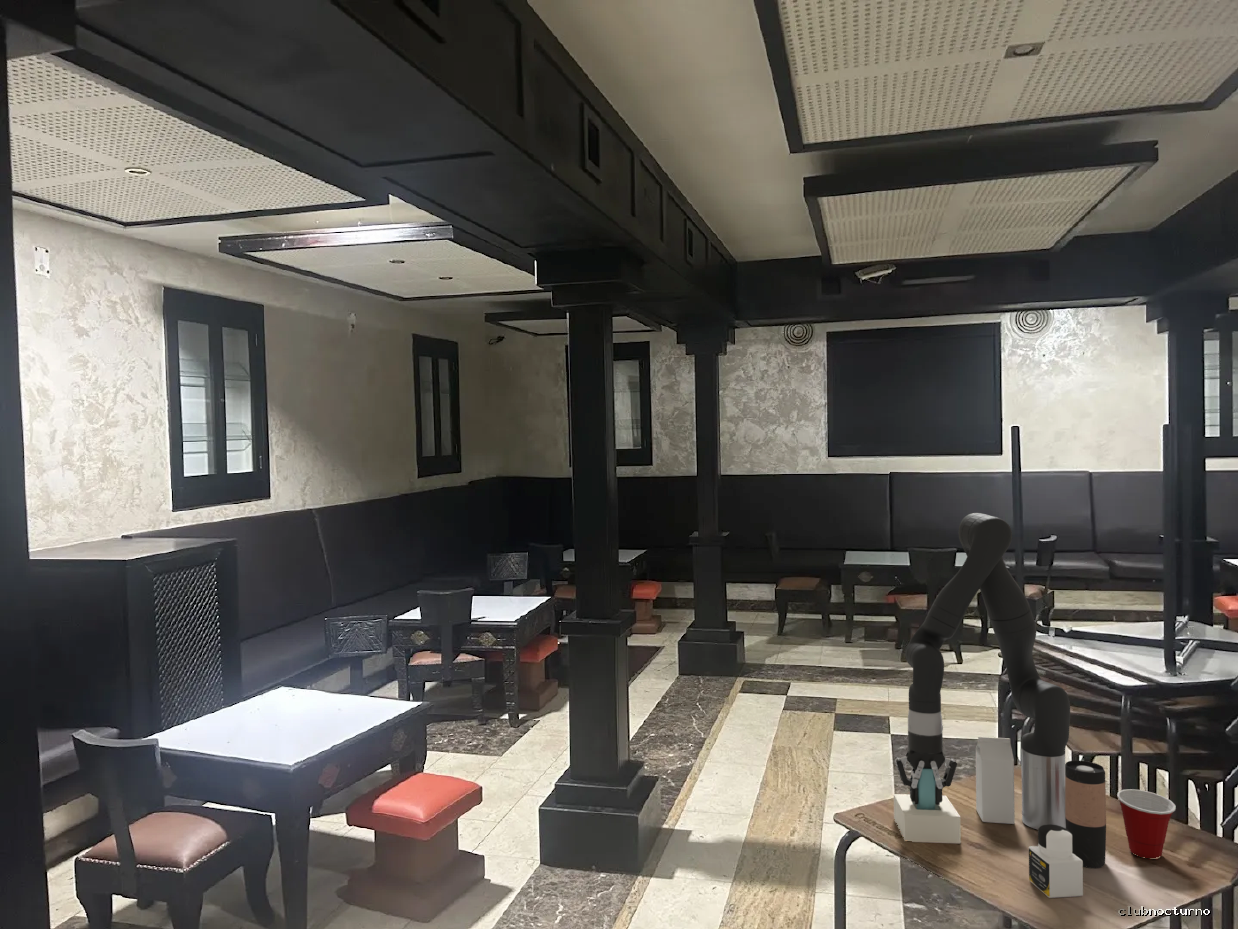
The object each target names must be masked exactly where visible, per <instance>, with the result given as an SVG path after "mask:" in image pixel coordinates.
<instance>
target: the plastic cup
mask: <svg viewBox="0 0 1238 929" xmlns="http://www.w3.org/2000/svg"><path fill="white" fill-rule="evenodd" d="M1116 795H1117V796H1116V797H1117V799H1118V801H1119V805H1120V808H1121V812H1122V817H1123V823H1124V828H1125V835H1126V837H1127V843H1128V848H1129V852H1130V853H1131V852H1132V853H1134V854H1136V855H1138V856H1140V857H1145V858H1156V857H1159V856H1161V857H1162V856H1163V850H1164V845H1165V842H1166V836H1167V833H1168V827H1169V823H1170V820H1171V817H1172V814H1173V813H1174V812H1175V811H1176V809H1177V808H1176V804H1175V803H1174V802H1173V801H1172V800H1170V799H1169V798H1167V797H1165V796H1163V795H1160V794H1158V793H1154V792H1151V791H1147V790H1144V789H1143V790H1142V789H1134V788H1132V789H1131V788H1130V789H1121V790H1120V791H1118V792H1117V794H1116ZM1132 853H1131V854H1132ZM1134 854H1133V855H1134ZM1138 856H1137V857H1138ZM1140 857H1139V858H1140Z"/></svg>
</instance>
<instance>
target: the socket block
mask: <svg viewBox="0 0 1238 929" xmlns="http://www.w3.org/2000/svg"><path fill="white" fill-rule="evenodd" d="M894 819H895V820H894ZM893 820H894V823H895V824H896V823H897V824H896V826H897V825H898V826H897V828H898V830H899V829H900V830H899V832H900V831H901V832H900V835H901V836H902V835H903V836H902V838H903V837H904V838H903V841H905V840H908V841H912V842H911V843H938V844H961V839H962V837H961V815H960V814H959V813H958V811H957V809H956V807H955V806H954V805H953V804H952V802H951V801H950V800H949V798H948V797H947V795H943V794H942V802H940V805H936V804H935V810H917V804H914V803H913V802H912V800H911V798H910V793H908V794H904V793H903V794H902V793H893Z"/></svg>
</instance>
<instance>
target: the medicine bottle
mask: <svg viewBox="0 0 1238 929" xmlns="http://www.w3.org/2000/svg"><path fill="white" fill-rule="evenodd" d="M1037 834H1038V835H1037V841H1038V842H1037V843H1038V844H1037V845H1032V846H1031V845H1030V846H1028V880H1029V882H1030V883H1031V884H1032V885H1033V886H1035V888H1037V889H1038V890H1039V891H1041V892H1042V893H1043V894H1044V895H1045V896H1046V897H1047V898H1049V899H1054V898H1055V899H1057V898H1072V897H1075V898H1076V897H1083V896H1084V875H1083V873H1084V870H1083V868H1084V867H1083V861H1082V860H1081V859H1080V858H1078V857H1077V856H1076V855H1074V854H1073V853H1072V834H1071V832H1070V831H1069V830H1067V829H1066V828H1064V827H1061V826H1058V825H1052V824H1048V825H1042V826H1040V827H1039V828H1038V830H1037Z"/></svg>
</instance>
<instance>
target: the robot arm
mask: <svg viewBox="0 0 1238 929" xmlns="http://www.w3.org/2000/svg"><path fill="white" fill-rule="evenodd" d="M958 538H959V542H960V544H961V546H962V549H963V551H964V553H965V555H966V559H965V560H964V563H962V566H961V567H960V568H959V570H958V572H956V574H955V575H953V577H952V578H951V579H950V580H949V581H948V582H947V583H946V584H945V585H944V587H943V588H941V590H940V591H939V592H938V594H937V596H936V597H935V599H934V601H933V602H932V605H931V607H930V609H929V611H928V612H927V615H926V617H925V619H924V622H923V623H922V624H921V625H920V626H919V627H918V629H917V630H916V631H915V632H914V634H913V636H912V637H911V639H910V640H909V642H908V644H907V646H906V649H905V653H904V654H905V656H904V657H905V660H906V662H907V664H908V665H909V666H910V667H911V668H912V683H911V684H910V685H909V688H908V714H907V743H908V744H907V753H906V754H905V756H902V757H899V756H895V757H894V762H895V765H896V768H897V771H898V775H899V777H900V779H901V780H900V781H901V782H902V784H903V785H904V786H908V787H909V794H910V798H911V800H912V802H913V803H914V804H918V789H917V784H918V780H919V779H920V776H921V773H922V769H932V770H933V774H934V778H935V804H936V805H940V802H942V795H943V789H944V788H945V787H948V788H949V787H951V784H952V783H953V779H954V776H955V772H956V770H957V766H958V763H957V762H956V760H955V759H954V758H953V757H950V758H948V757H945V755H944V753H943V752H944V749H943V748H944V747H943V746H944V744H943V743H944V742H943V741H944V740H943V731H944V725H943V716H942V695H941V690H942V687H943V680H944V674H945V660H944V655H943V653H942V652H941V648H942V646H943V645H944V643H945V642H946V640H949V639H952V638H953V636H954V635H955V634H956V632H957V630H958V629H959V626H960V624H961V622H962V620H963V618H964V616H965V614H966V612H967V610H968V609H969V606H970V605H971V603H972V601H973V599H974V598H975V596H976V595H977V593H978V591H979V590H980V594H981V597H982V599H983V603H984V606H985V609H986V611H987V612H986V613H987V617H988V618H989V621H990V625H991V628H992V630H993V633H994V636H995V638H996V641H997V644H998V647H999V650H1000V654H1001V657H1002V659H1003V663H1004V666H1005V670H1006V675H1007V679H1008V683H1009V688H1010V692H1011V697H1012V700H1013V703H1014V705H1015V708H1016V709H1017V710H1018V711H1019V712H1020V713H1021V714H1022V715H1023V716H1024V717H1025V716H1026V717H1027V718H1030V719H1032V720H1034V727H1033V728H1034V729H1033V732H1027V733H1025V734H1023V735H1022V736H1021V740H1020V741H1021V743H1020V748H1021V751H1020V753H1021V755H1020V756H1021V820H1022V823H1023V824H1024V825H1025V826H1027V827H1029V828H1032V829H1034V830H1037V831H1038V828H1039V827H1040V826H1042V825H1048V824H1052V825H1058V826H1061V827H1064V828H1066V822H1065V764H1066V746H1067V744H1068V742H1069V739H1070V725H1071V724H1070V722H1071V703H1070V702H1071V701H1070V698H1069V695H1068V693H1067V691H1066V690H1065V688H1063V687H1061V686H1059V685H1057V684H1054V683H1051V682H1048V681H1044V680H1043V679H1042V678H1041V677H1040V674H1039V672H1038V670H1037V667H1036V665H1035V661H1034V656H1033V651H1034V646H1035V643H1036V642H1035V641H1036V638H1037V624H1036V620H1035V618H1034V614H1033V612H1032V609H1031V606H1030V603H1029V601H1028V599H1027V596H1025V593H1024V592H1023V590H1022V589H1021V587H1020V586H1019V584H1018V583H1017V581H1016V580H1015V578H1014V577H1013V575H1012V574H1011V572H1010V571H1009V570H1008V568H1007V566H1006V563H1005V561H1004V559H1003V556H1004V554H1005V553H1006V552H1007V550H1008V549H1009V547H1010V545H1011V543H1012V539H1013V532H1012V529H1011V526H1010V525H1009V523H1008V522H1007V521H1006V520H1004V519H1002V518H1000V517H997V516H994V515H989V514H985V513H982V512H973V513H969V514H967V515H966V516H964V517H963V518H962V520H961V521H960V523H959V527H958ZM907 762H908V763H909V764H910V766H911V767H912V768H911V770H910V777H909V778H908V777H907V774H906V771H905V768H906V766H907ZM942 765H944V766H945V767H946V768H945V771H944V774H943V778H942V779H941V775H940V772H939V770H940V769H941V767H942Z"/></svg>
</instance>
